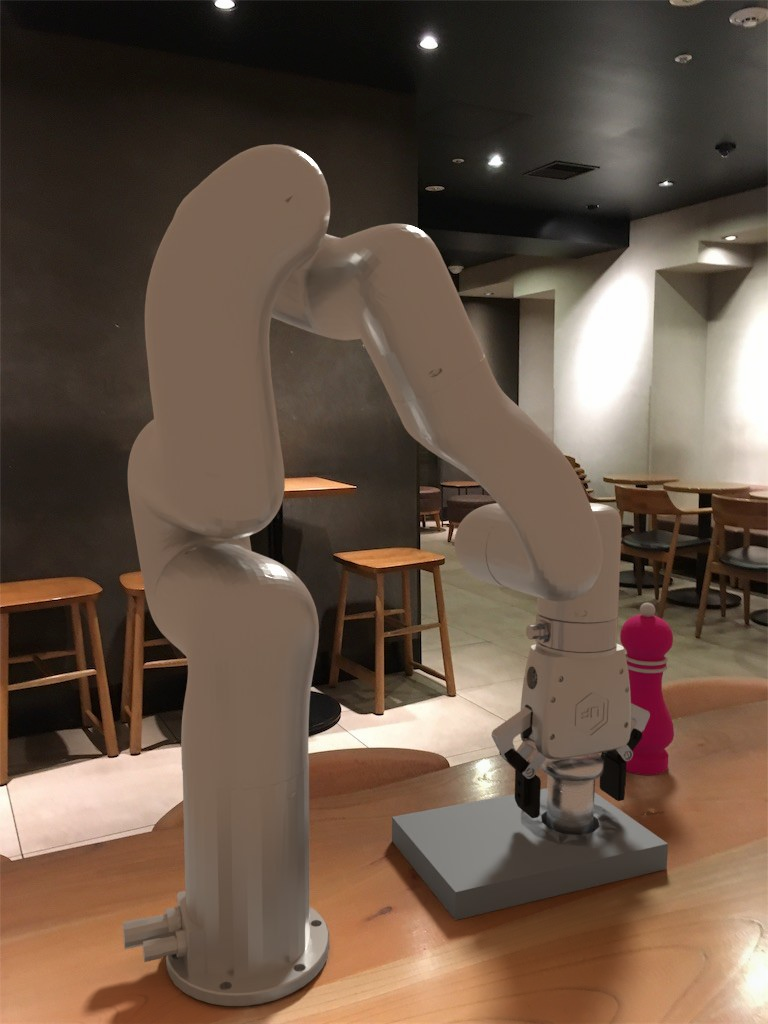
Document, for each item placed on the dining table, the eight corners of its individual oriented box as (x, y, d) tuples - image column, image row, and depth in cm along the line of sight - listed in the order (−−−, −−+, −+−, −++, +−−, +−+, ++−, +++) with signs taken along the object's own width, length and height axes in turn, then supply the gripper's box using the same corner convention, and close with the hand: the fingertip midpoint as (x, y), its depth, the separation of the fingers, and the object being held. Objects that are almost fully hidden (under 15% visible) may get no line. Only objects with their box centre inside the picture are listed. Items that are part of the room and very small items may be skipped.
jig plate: (455, 920, 70) (455, 892, 70) (391, 840, 83) (392, 816, 83) (666, 868, 78) (667, 843, 78) (579, 803, 91) (579, 781, 91)
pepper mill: (676, 780, 97) (684, 611, 95) (611, 774, 99) (618, 608, 96) (668, 755, 104) (675, 597, 102) (608, 750, 106) (614, 594, 103)
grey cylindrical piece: (560, 866, 78) (563, 775, 77) (526, 836, 84) (528, 750, 83) (613, 854, 81) (616, 765, 80) (576, 826, 86) (579, 742, 85)
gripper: (517, 652, 73) (513, 837, 75) (676, 634, 80) (667, 805, 82) (477, 631, 80) (473, 801, 82) (626, 616, 86) (619, 774, 89)
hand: (570, 803), depth 82 cm, fingers open, 9 cm apart
